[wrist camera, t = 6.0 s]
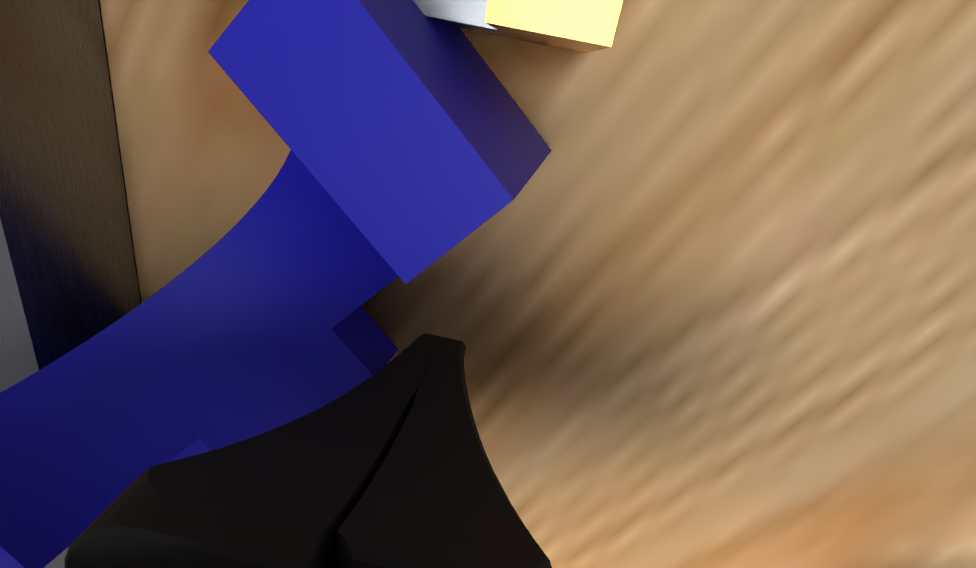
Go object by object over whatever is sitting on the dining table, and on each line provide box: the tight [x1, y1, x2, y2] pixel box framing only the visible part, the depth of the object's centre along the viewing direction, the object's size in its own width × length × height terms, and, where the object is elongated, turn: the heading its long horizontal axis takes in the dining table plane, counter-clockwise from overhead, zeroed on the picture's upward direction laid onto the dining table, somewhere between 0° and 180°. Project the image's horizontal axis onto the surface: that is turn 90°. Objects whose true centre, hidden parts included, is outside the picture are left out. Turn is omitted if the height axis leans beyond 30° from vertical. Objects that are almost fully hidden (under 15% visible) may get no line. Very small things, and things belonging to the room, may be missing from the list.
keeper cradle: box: [0, 0, 623, 568], centre depth 11 cm, size 12×18×4 cm, turn 170°
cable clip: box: [0, 0, 551, 568], centre depth 10 cm, size 12×4×6 cm, turn 130°
